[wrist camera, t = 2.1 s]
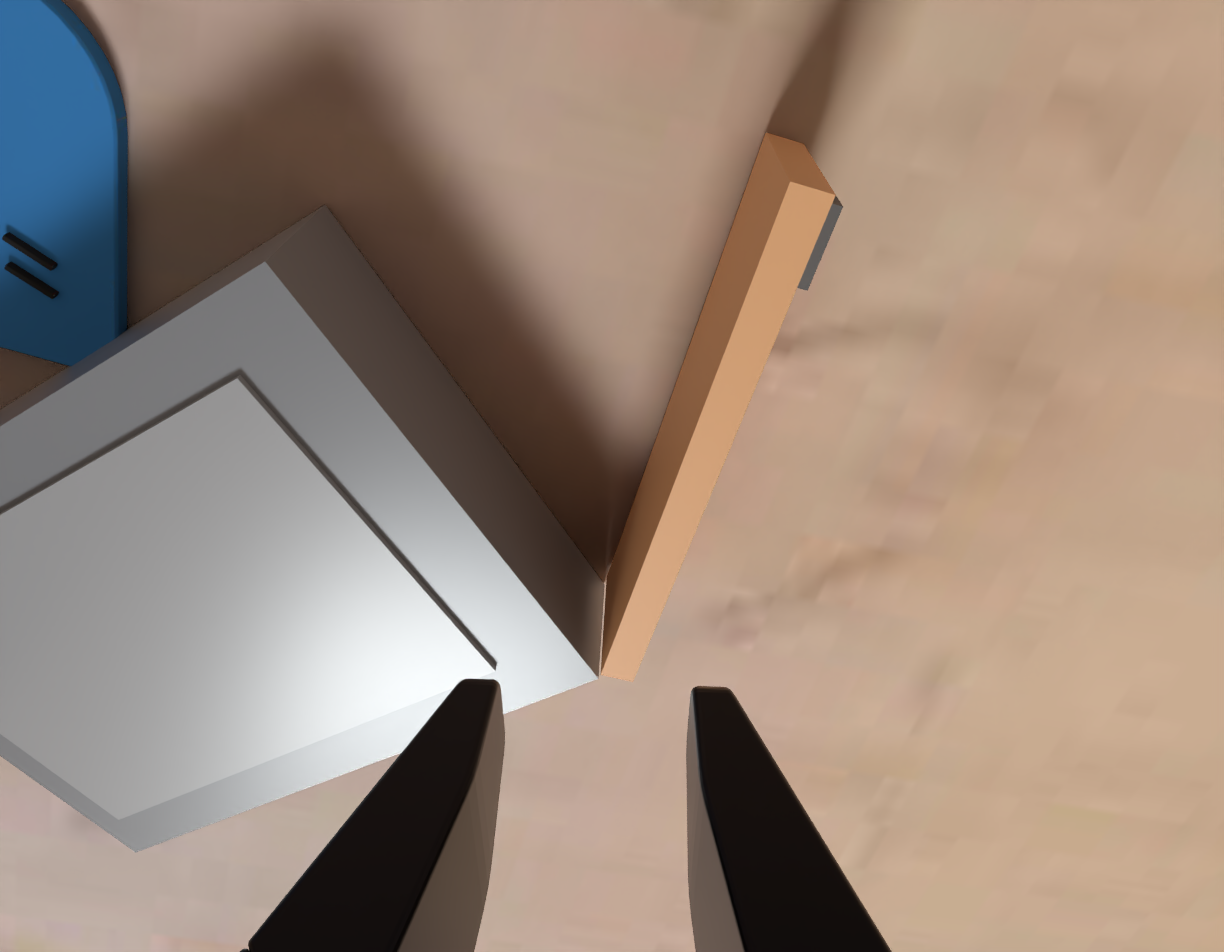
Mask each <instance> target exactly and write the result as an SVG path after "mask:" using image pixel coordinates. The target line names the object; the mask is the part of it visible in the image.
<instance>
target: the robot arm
mask: <svg viewBox="0 0 1224 952" xmlns="http://www.w3.org/2000/svg"><path fill="white" fill-rule="evenodd" d="M504 746H505V728H504V717H503V706H502V694H501V687H500V684H499V682H498V681H496V680H494V679H463V680H461V681H460V682H459V683H458V684H457V685H456V686H455V687H454V689H453V690H452V691H451V692H450V694H449V695H448V696H447V697H446V699H445V700H444V701H443V702H442V703H441V705H440V706H439V707H438V708H437V710H436V711H435V712H434V713H433V715H432V716H431V717H430V718H429V720H428V721H427V722H426V723H425V724H424V726H423V727H422V728H421V729H420V731H419V732H418V733H417V734H416V736H415V737H414V738H413V739H412V741H411V742H410V743H409V744H408V745H407V747H406V748H405V749H404V750H403V752H402V753H401V754H400V755H399V757H398V758H397V759H396V760H395V762H394V763H393V764H392V765H391V766H390V768H389V769H388V770H387V771H386V773H385V774H384V775H383V776H382V778H381V779H380V780H379V781H378V782H377V784H376V785H375V786H374V787H373V789H372V790H371V791H370V792H369V794H368V795H367V796H366V797H365V799H364V800H363V801H362V802H361V803H360V805H359V806H358V807H357V808H356V810H355V811H354V812H353V813H352V815H351V816H350V817H349V818H348V820H347V821H346V822H345V823H344V824H343V826H342V827H341V828H340V829H339V831H338V832H337V833H336V834H335V836H334V837H333V838H332V839H331V840H330V842H329V843H328V844H327V845H326V847H325V848H324V849H323V850H322V852H321V853H320V854H319V855H318V857H317V858H316V859H315V860H314V861H313V863H312V864H311V865H310V866H309V868H308V869H307V870H306V871H305V873H304V874H303V875H302V876H301V878H300V879H299V880H298V881H297V882H296V884H295V885H294V886H293V887H292V889H291V890H290V891H289V892H288V894H287V895H286V896H285V897H284V899H283V900H282V901H281V902H280V903H279V905H278V906H277V907H276V908H275V910H274V911H273V912H272V913H271V915H270V916H269V917H268V918H267V919H266V921H265V922H264V923H263V924H262V926H261V927H260V928H259V929H258V931H257V932H256V933H255V934H254V936H253V937H252V938H251V939H250V941H249V943H248V946H249V950H248V949H242V950H241V951H240V952H474V949H475V945H476V941H477V936H478V932H479V928H480V923H481V919H482V915H483V910H484V905H485V900H486V895H487V890H488V885H489V878H490V871H491V864H492V855H493V846H494V837H495V828H496V819H497V810H498V801H499V792H500V783H501V774H502V765H503V756H504ZM686 764H687V837H688V883H689V899H690V909H691V919H692V926H693V934H694V941H695V949H696V952H892V951H891V950H890V948H889V947H888V945H887V943H886V942H885V940H884V938H883V937H882V935H881V933H880V932H879V930H878V929H877V927H876V925H875V924H874V922H873V920H872V919H871V917H870V915H869V914H868V912H867V911H866V909H865V907H864V906H863V904H862V902H861V901H860V899H859V898H858V896H857V894H856V893H855V891H854V889H853V888H852V886H851V884H850V883H849V881H848V880H847V878H846V876H845V875H844V873H843V871H842V870H841V868H840V866H839V865H838V863H837V862H836V860H835V858H834V857H833V855H832V853H831V852H830V850H829V848H828V847H827V845H826V844H825V842H824V840H823V839H822V837H821V835H820V834H819V832H818V831H817V829H816V827H815V826H814V824H813V822H812V821H811V819H810V817H809V816H808V814H807V813H806V811H805V809H804V808H803V806H802V804H801V803H800V801H799V799H798V798H797V796H796V795H795V793H794V791H793V790H792V788H791V786H790V785H789V783H788V782H787V780H786V778H785V777H784V775H783V773H782V772H781V770H780V768H779V767H778V765H777V764H776V762H775V760H774V759H773V757H772V755H771V754H770V752H769V750H768V749H767V747H766V746H765V744H764V742H763V741H762V739H761V737H760V736H759V734H758V733H757V731H756V729H755V728H754V726H753V724H752V723H751V721H750V719H749V718H748V716H747V715H746V713H745V711H744V710H743V708H742V706H741V705H740V703H739V701H738V700H737V698H736V697H735V695H734V694H733V692H732V691H731V690H730V689H728V688H726V687H709V686H697V687H695V688H693V689H692V691H691V696H690V707H689V719H688V731H687V748H686Z"/></svg>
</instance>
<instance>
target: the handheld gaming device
mask: <svg viewBox="0 0 1224 952" xmlns="http://www.w3.org/2000/svg"><path fill="white" fill-rule="evenodd" d="M127 166H128V132H127V118H126V111H125V106H124V102H123V98H122V94H121V91H120V88H119V85H118V82H117V80H116V77H115V74H114V72H113V70H112V68H111V66H110V64H109V62H108V60H107V58H106V56H105V54H104V52H103V51H102V49H101V48H100V46H99V45H98V43H97V42H96V40H95V39H94V37H93V36H92V34H91V33H90V31H89V30H88V29H87V28H86V26H85V25H84V24H83V23H82V22H81V20H80V19H79V18H78V17H77V16H76V15H75V13H74V12H73V11H72V10H71V9H70V8H69V7H68V6H67V5H66V4H64V3H63V2H62V1H61V0H0V347H2V348H6V349H9V350H13V351H17V352H20V353H24V354H27V355H31V356H35V357H38V358H42V359H46V360H49V361H53V362H56V363H60V364H64V365H67V366H73V365H74V364H76V363H78V362H79V361H81V360H82V359H84V358H85V357H87V356H89V355H90V354H92V353H93V352H95V351H97V350H98V349H100V348H101V347H103V346H104V345H106V344H108V343H109V342H111V341H112V340H114V339H115V338H117V337H118V336H120V335H121V334H122V333H123V332H124V331H126V330H127Z"/></svg>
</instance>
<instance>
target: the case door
mask: <svg viewBox="0 0 1224 952" xmlns="http://www.w3.org/2000/svg"><path fill="white" fill-rule="evenodd" d="M842 208H843V206H842V204H841V203H840V201H839V200H838V198H837V197H836V195H835V193H834V192H833V190H832V188H831V187H830V185H829V184H828V182H827V180H826V179H825V177H824V176H823V174H822V172H821V171H820V169H819V168H818V166H817V165H816V163H815V161H814V160H813V158H812V157H811V155H810V153H809V152H808V150H807V149H806V147H805V145H804V144H802V143H799V142H796V141H793V140H789V139H786V138H783V137H779V136H776V135H773V134H770V133H765V136H764V139H763V141H762V144H761V147H760V150H759V153H758V155H757V158H756V161H755V164H754V167H753V169H752V172H751V175H750V178H749V181H748V183H747V186H746V189H745V192H744V195H743V197H742V200H741V203H740V206H739V209H738V211H737V214H736V217H735V220H734V223H733V225H732V228H731V231H730V234H729V237H728V239H727V242H726V245H725V248H724V251H723V253H722V256H721V259H720V262H719V265H718V267H717V270H716V273H715V276H714V279H713V281H712V284H711V287H710V290H709V293H708V295H707V298H706V301H705V304H704V306H703V309H702V312H701V315H700V318H699V320H698V323H697V326H696V329H695V332H694V334H693V337H692V340H691V343H690V346H689V348H688V351H687V354H686V357H685V360H684V362H683V365H682V368H681V371H680V374H679V376H678V379H677V382H676V385H675V388H674V390H673V393H672V396H671V399H670V402H669V404H668V407H667V410H666V413H665V416H664V418H663V421H662V424H661V427H660V430H659V432H658V435H657V438H656V441H655V444H654V446H653V449H652V452H651V455H650V458H649V460H648V463H647V466H646V469H645V472H644V474H643V477H642V480H641V483H640V486H639V488H638V491H637V494H636V497H635V500H634V502H633V505H632V508H631V511H630V514H629V516H628V519H627V522H626V525H625V527H624V530H623V533H622V536H621V539H620V541H619V544H618V547H617V550H616V553H615V555H614V558H613V561H612V564H611V567H610V569H609V572H608V575H607V582H606V598H605V615H604V631H603V647H602V663H601V675H604V676H608V677H613V678H617V679H622V680H626V681H631V682H633V681H634V678H635V676H636V673H637V671H638V669H639V666H640V664H641V661H642V659H643V657H644V654H645V652H646V649H647V647H648V645H649V642H650V640H651V637H652V635H653V633H654V630H655V628H656V625H657V623H658V621H659V618H660V616H661V613H662V611H663V609H664V606H665V604H666V601H667V599H668V597H669V594H670V592H671V589H672V587H673V585H674V582H675V580H676V577H677V575H678V573H679V570H680V568H681V565H682V563H683V561H684V558H685V556H686V553H687V551H688V549H689V546H690V544H691V541H692V539H693V537H694V534H695V532H696V529H697V527H698V525H699V522H700V520H701V517H702V515H703V513H704V510H705V508H706V505H707V503H708V501H709V498H710V496H711V493H712V491H713V489H714V486H715V484H716V481H717V479H718V477H719V474H720V472H721V469H722V467H723V465H724V462H725V460H726V457H727V455H728V453H729V450H730V448H731V445H732V443H733V441H734V438H735V436H736V433H737V431H738V429H739V426H740V424H741V421H742V419H743V417H744V414H745V412H746V409H747V407H748V404H749V402H750V400H751V397H752V395H753V392H754V390H755V388H756V385H757V383H758V380H759V378H760V376H761V373H762V371H763V368H764V366H765V364H766V361H767V359H768V356H769V354H770V352H771V349H772V347H773V344H774V342H775V340H776V337H777V335H778V332H779V330H780V328H781V325H782V323H783V320H784V318H785V316H786V313H787V311H788V308H789V306H790V304H791V301H792V299H793V296H794V294H795V292H796V289H797V288H800V289H803V290H808V288H809V286H810V283H811V281H812V279H813V276H814V274H815V272H816V269H817V267H818V264H819V262H820V260H821V257H822V255H823V253H824V250H825V248H826V246H827V243H828V241H829V239H830V236H831V234H832V231H833V229H834V227H835V224H836V222H837V220H838V217H839V215H840V213H841V210H842Z"/></svg>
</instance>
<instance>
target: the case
mask: <svg viewBox="0 0 1224 952" xmlns="http://www.w3.org/2000/svg"><path fill="white" fill-rule="evenodd" d="M603 599H604V583H603V582H602V581H601V579H600V578H599V577H598V575H597V574H596V572H595V571H594V570H593V568H592V567H591V566H590V564H589V563H588V562H587V560H586V559H585V557H584V556H583V555H582V553H581V552H580V551H579V549H578V548H577V547H576V545H575V544H574V543H573V541H572V540H571V538H570V537H569V536H568V534H567V533H566V532H565V530H564V529H563V528H562V526H561V525H560V523H559V522H558V521H557V519H556V518H555V517H554V515H553V514H552V513H551V511H550V510H549V508H548V507H547V506H546V504H545V503H544V502H543V500H542V499H541V498H540V496H539V495H538V494H537V492H536V491H535V489H534V488H533V487H532V485H531V484H530V483H529V481H528V480H527V479H526V477H525V476H524V474H523V473H522V472H521V470H520V469H519V468H518V466H517V465H516V464H515V462H514V461H513V459H512V458H511V457H510V455H509V454H508V453H507V451H506V450H505V449H504V447H503V446H502V445H501V443H500V442H499V440H498V439H497V438H496V436H495V435H494V434H493V432H492V431H491V430H490V428H489V427H488V425H487V424H486V423H485V421H484V420H483V419H482V417H481V416H480V415H479V413H478V412H477V410H476V409H475V408H474V406H473V405H472V404H471V402H470V401H469V400H468V398H467V397H466V396H465V394H464V393H463V391H462V390H461V389H460V387H459V386H458V385H457V383H456V382H455V381H454V379H453V378H452V376H451V375H450V374H449V372H448V371H447V370H446V368H445V367H444V366H443V364H442V363H441V362H440V360H439V359H438V357H437V356H436V355H435V353H434V352H433V351H432V349H431V348H430V347H429V345H428V344H427V342H426V341H425V340H424V338H423V337H422V336H421V334H420V333H419V332H418V330H417V329H416V327H415V326H414V325H413V323H412V322H411V321H410V319H409V318H408V317H407V315H406V314H405V313H404V311H403V310H402V308H401V307H400V306H399V304H398V303H397V302H396V300H395V299H394V298H393V296H392V295H391V293H390V292H389V291H388V289H387V288H386V287H385V285H384V284H383V283H382V281H381V280H380V278H379V277H378V276H377V274H376V273H375V272H374V270H373V269H372V268H371V266H370V265H369V264H368V262H367V261H366V259H365V258H364V257H363V255H362V254H361V253H360V251H359V250H358V249H357V247H356V246H355V244H354V243H353V242H352V240H351V239H350V238H349V236H348V235H347V234H346V232H345V231H344V229H343V228H342V227H341V225H340V224H339V223H338V221H337V220H336V219H335V217H334V216H333V215H332V213H331V212H330V210H329V209H328V208H327V206H326V205H324V206H322V207H320V208H319V209H317V210H316V211H314V212H312V213H311V214H309V215H308V216H306V217H305V218H303V219H301V220H300V221H298V222H297V223H295V224H293V225H292V226H290V227H289V228H287V229H286V230H284V231H282V232H281V233H279V234H278V235H276V236H274V237H273V238H271V239H270V240H268V241H267V242H265V243H263V244H262V245H260V246H259V247H257V248H255V249H254V250H252V251H251V252H249V253H248V254H246V255H244V256H243V257H241V258H240V259H238V260H236V261H235V262H233V263H232V264H230V265H229V266H227V267H225V268H224V269H222V270H221V271H219V272H217V273H216V274H214V275H213V276H211V277H210V278H208V279H206V280H205V281H203V282H202V283H200V284H198V285H197V286H195V287H194V288H192V289H191V290H189V291H187V292H186V293H184V294H183V295H181V296H179V297H178V298H176V299H175V300H173V301H172V302H170V303H168V304H167V305H165V306H164V307H162V308H160V309H159V310H157V311H156V312H154V313H153V314H151V315H149V316H148V317H146V318H145V319H143V320H141V321H140V322H138V323H137V324H135V325H134V326H132V327H130V328H129V329H127V330H126V331H124V332H123V333H122V334H121V335H120V336H118V337H117V338H115V339H114V340H112V341H111V342H109V343H108V344H106V345H104V346H103V347H101V348H100V349H98V350H97V351H95V352H93V353H92V354H90V355H89V356H87V357H85V358H84V359H82V360H81V361H79V362H78V363H76V364H74V365H73V366H69V367H67V368H65V369H64V370H62V371H61V372H59V373H57V374H56V375H54V376H53V377H51V378H50V379H48V380H46V381H45V382H43V383H42V384H40V385H38V386H37V387H35V388H34V389H32V390H31V391H29V392H27V393H26V394H24V395H23V396H21V397H19V398H18V399H16V400H15V401H13V402H12V403H10V404H8V405H7V406H5V407H4V408H2V409H0V756H1V757H3V758H4V759H5V760H7V761H8V762H10V763H11V764H12V765H14V766H15V767H17V768H18V769H19V770H21V771H22V772H24V773H25V774H26V775H28V776H29V777H31V778H32V779H33V780H35V781H36V782H38V783H39V784H40V785H42V786H43V787H45V788H46V789H47V790H49V791H50V792H52V793H53V794H54V795H56V796H57V797H59V798H60V799H62V800H63V801H64V802H66V803H67V804H69V805H70V806H71V807H73V808H74V809H76V810H77V811H78V812H80V813H81V814H83V815H84V816H85V817H87V818H88V819H90V820H91V821H92V822H94V823H95V824H97V825H98V826H99V827H101V828H102V829H104V830H105V831H106V832H108V833H109V834H111V835H112V836H113V837H115V838H116V839H118V840H119V841H120V842H122V843H123V844H125V845H126V846H127V847H129V848H130V849H132V850H133V851H134V852H138V851H141V850H143V849H146V848H149V847H151V846H154V845H157V844H159V843H162V842H165V841H167V840H170V839H173V838H175V837H178V836H181V835H183V834H186V833H189V832H191V831H194V830H197V829H199V828H202V827H205V826H207V825H210V824H213V823H215V822H218V821H221V820H223V819H226V818H229V817H231V816H234V815H237V814H239V813H242V812H245V811H247V810H250V809H253V808H255V807H258V806H261V805H263V804H266V803H269V802H271V801H274V800H277V799H279V798H282V797H285V796H287V795H290V794H293V793H295V792H298V791H301V790H303V789H306V788H309V787H311V786H314V785H316V784H319V783H322V782H324V781H327V780H330V779H332V778H335V777H338V776H340V775H343V774H346V773H348V772H351V771H354V770H356V769H359V768H362V767H364V766H367V765H370V764H372V763H375V762H378V761H380V760H383V759H386V758H388V757H391V756H394V755H396V754H399V753H402V752H403V750H404V749H405V748H406V747H407V745H408V744H409V743H410V742H411V741H412V739H413V738H414V737H415V736H416V734H417V733H418V732H419V731H420V729H421V728H422V727H423V726H424V724H425V723H426V722H427V721H428V720H429V718H430V717H431V716H432V715H433V713H434V712H435V711H436V710H437V708H438V707H439V706H440V705H441V703H442V702H443V701H444V700H445V699H446V697H447V696H448V695H449V694H450V692H451V691H452V690H453V689H454V687H455V686H456V685H457V684H458V683H459V682H460V681H461V680H463V679H494V680H496V681H498V682H499V684H500V687H501V694H502V706H503V714H506V713H508V712H511V711H514V710H516V709H519V708H521V707H524V706H527V705H529V704H532V703H535V702H537V701H540V700H543V699H545V698H548V697H551V696H553V695H556V694H559V693H561V692H564V691H567V690H569V689H572V688H575V687H577V686H580V685H583V684H585V683H588V682H591V681H593V680H596V679H598V676H599V661H600V646H601V630H602V615H603Z"/></svg>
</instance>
